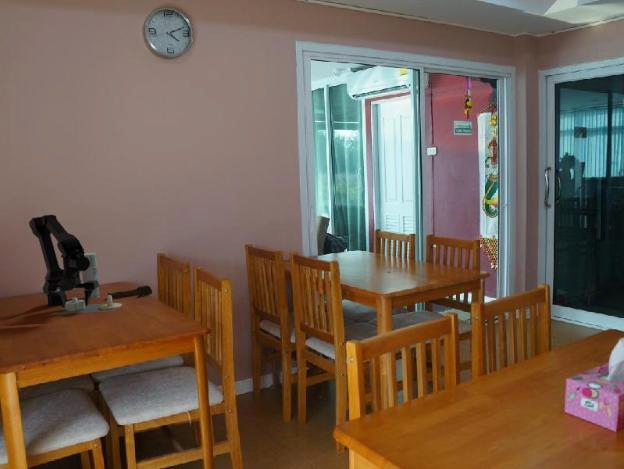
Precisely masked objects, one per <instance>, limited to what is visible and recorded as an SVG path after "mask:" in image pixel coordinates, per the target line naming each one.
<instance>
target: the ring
mask: <svg viewBox="0 0 624 469" xmlns="http://www.w3.org/2000/svg"><path fill="white" fill-rule="evenodd" d="M84 308H85V299H77V302H76V303H72V300H67V302H66V303H65V310H66V311H78V310H82V309H84Z"/></svg>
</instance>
